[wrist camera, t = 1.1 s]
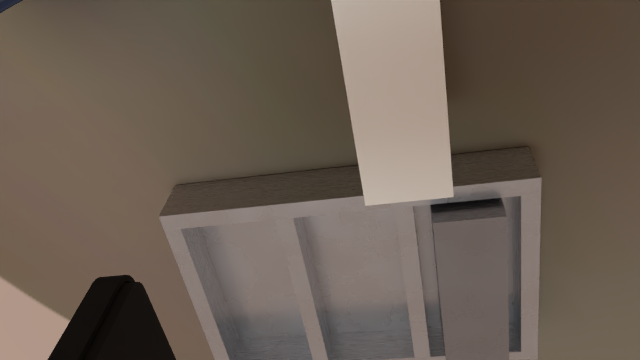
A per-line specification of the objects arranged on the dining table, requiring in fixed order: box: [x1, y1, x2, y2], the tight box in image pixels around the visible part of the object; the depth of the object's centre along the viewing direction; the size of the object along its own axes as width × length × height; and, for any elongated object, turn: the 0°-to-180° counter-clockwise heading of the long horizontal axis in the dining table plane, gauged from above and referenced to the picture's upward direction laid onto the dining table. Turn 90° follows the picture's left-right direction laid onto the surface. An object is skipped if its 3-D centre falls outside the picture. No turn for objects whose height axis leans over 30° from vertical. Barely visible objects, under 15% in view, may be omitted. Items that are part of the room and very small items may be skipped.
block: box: [331, 0, 454, 206], centre depth 21 cm, size 3×8×7 cm, turn 10°
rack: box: [159, 147, 541, 360], centre depth 29 cm, size 17×11×4 cm
